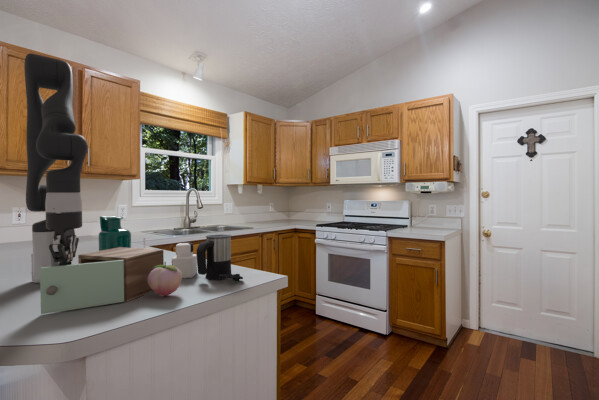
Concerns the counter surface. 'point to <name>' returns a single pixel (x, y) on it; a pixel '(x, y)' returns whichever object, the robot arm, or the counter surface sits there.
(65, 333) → the counter surface
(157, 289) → the decorative fruit
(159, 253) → the cabinet
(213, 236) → the milk frother
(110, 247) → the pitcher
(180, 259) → the medicine bottle
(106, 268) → the cabinet door
